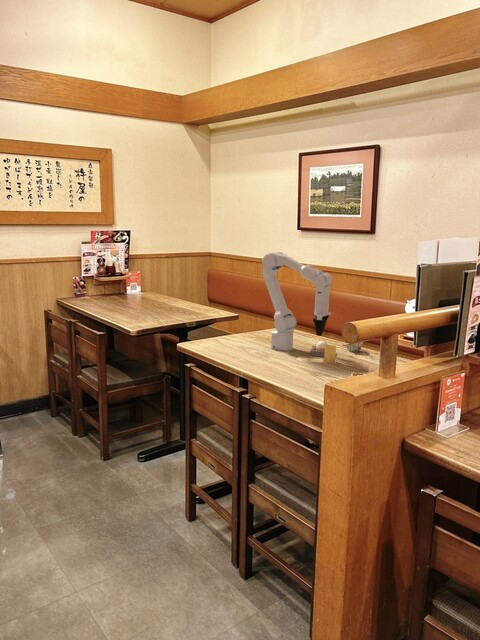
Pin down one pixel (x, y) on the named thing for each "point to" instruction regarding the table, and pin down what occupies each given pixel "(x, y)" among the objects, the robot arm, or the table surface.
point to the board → (312, 360)
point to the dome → (321, 346)
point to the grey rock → (354, 347)
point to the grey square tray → (316, 352)
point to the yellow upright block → (330, 353)
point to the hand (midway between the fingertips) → (320, 333)
